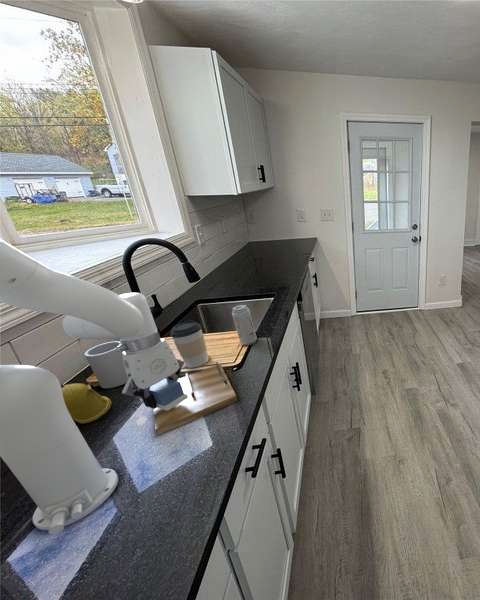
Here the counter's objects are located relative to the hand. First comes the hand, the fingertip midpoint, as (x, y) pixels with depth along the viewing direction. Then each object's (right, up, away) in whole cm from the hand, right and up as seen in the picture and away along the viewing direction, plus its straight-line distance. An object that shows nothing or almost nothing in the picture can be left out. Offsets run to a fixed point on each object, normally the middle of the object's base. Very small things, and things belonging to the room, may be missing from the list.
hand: (164, 399), depth 86 cm
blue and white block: (0, 0, 0) cm, 0 cm away
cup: (-29, +1, +18) cm, 34 cm away
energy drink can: (+5, +10, +37) cm, 39 cm away
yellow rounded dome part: (-20, -6, +1) cm, 21 cm away
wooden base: (+4, -2, +7) cm, 8 cm away
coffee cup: (-7, +5, +26) cm, 27 cm away
